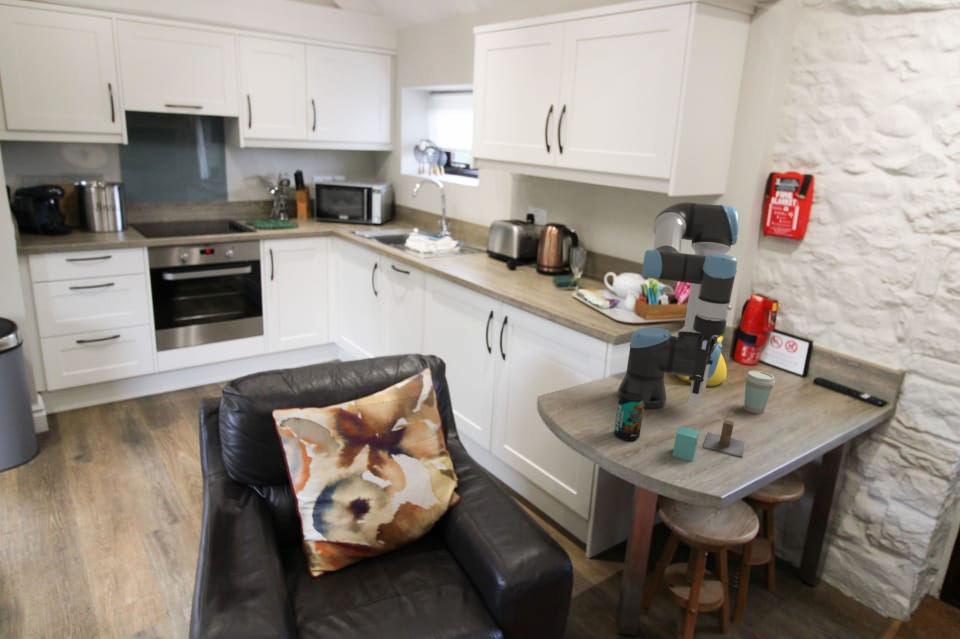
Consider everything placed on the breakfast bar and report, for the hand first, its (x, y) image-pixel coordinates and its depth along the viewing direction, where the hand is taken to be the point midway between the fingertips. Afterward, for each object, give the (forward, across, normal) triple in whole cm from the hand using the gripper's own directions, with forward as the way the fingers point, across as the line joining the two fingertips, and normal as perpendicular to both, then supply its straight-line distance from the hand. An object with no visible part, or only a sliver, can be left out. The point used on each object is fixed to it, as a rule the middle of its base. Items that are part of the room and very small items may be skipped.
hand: (696, 395), depth 162 cm
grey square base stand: (+17, +12, -9) cm, 22 cm away
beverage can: (+17, +2, +16) cm, 24 cm away
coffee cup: (+17, +44, -15) cm, 49 cm away
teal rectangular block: (+17, 0, 0) cm, 17 cm away
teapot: (+17, +64, +4) cm, 66 cm away
